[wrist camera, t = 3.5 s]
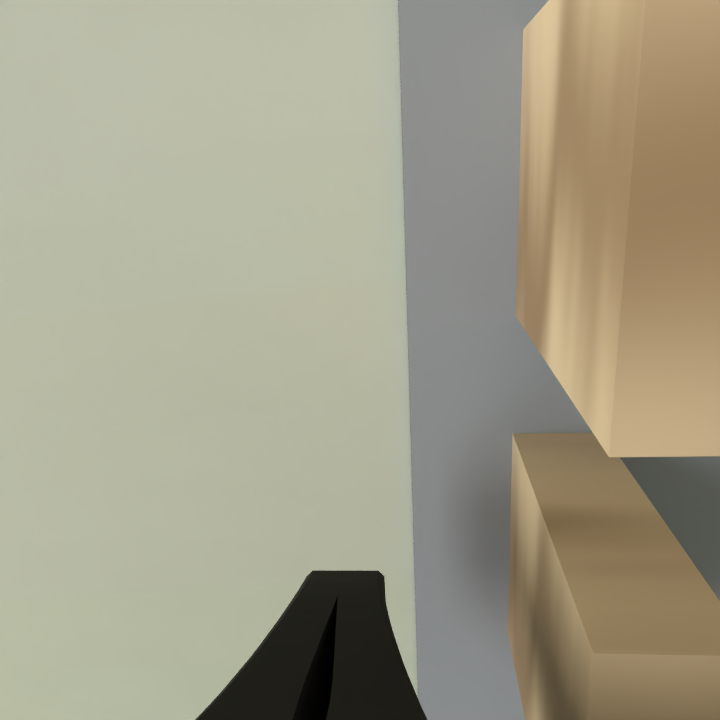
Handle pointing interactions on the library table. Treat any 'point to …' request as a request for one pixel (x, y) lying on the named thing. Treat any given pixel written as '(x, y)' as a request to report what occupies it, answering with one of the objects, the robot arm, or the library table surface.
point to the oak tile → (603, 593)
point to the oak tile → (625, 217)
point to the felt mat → (484, 356)
